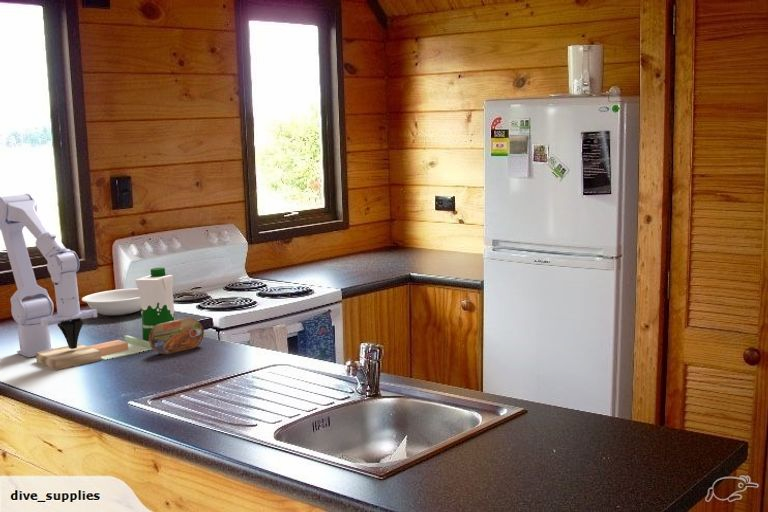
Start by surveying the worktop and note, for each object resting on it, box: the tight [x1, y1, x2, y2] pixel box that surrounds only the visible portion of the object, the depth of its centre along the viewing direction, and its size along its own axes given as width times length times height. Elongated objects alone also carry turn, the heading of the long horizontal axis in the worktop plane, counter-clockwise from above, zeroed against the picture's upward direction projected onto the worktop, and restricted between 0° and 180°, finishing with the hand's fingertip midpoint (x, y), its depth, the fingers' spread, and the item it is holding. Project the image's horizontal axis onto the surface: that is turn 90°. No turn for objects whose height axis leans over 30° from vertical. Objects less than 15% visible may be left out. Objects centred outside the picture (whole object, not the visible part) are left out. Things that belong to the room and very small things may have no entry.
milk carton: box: [134, 267, 176, 342], centre depth 260 cm, size 9×9×20 cm
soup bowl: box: [81, 287, 141, 316], centre depth 303 cm, size 24×24×7 cm
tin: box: [148, 317, 205, 355], centre depth 245 cm, size 15×3×8 cm, turn 127°
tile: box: [87, 339, 129, 356], centre depth 248 cm, size 6×9×2 cm, turn 131°
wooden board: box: [35, 343, 103, 371], centre depth 241 cm, size 14×12×2 cm
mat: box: [101, 334, 154, 361], centre depth 250 cm, size 16×14×2 cm
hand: (72, 348), depth 242 cm, fingers closed
